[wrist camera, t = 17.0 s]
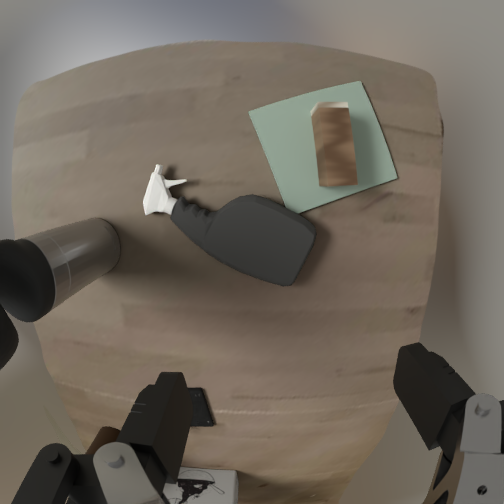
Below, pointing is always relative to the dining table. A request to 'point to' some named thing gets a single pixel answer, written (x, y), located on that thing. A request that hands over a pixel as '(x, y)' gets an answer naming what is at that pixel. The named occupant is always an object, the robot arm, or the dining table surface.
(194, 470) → the cereal box
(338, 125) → the walnut block
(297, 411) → the dining table surface
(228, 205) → the spray bottle
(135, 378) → the dining table surface
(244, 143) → the dining table surface
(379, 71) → the dining table surface
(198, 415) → the handheld gaming console
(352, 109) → the rubber mat
